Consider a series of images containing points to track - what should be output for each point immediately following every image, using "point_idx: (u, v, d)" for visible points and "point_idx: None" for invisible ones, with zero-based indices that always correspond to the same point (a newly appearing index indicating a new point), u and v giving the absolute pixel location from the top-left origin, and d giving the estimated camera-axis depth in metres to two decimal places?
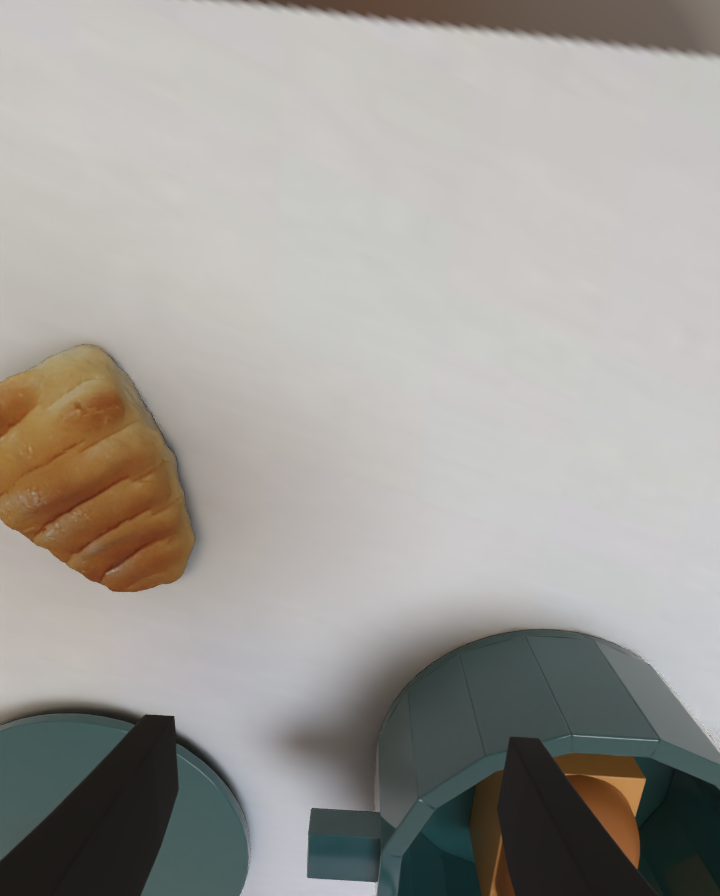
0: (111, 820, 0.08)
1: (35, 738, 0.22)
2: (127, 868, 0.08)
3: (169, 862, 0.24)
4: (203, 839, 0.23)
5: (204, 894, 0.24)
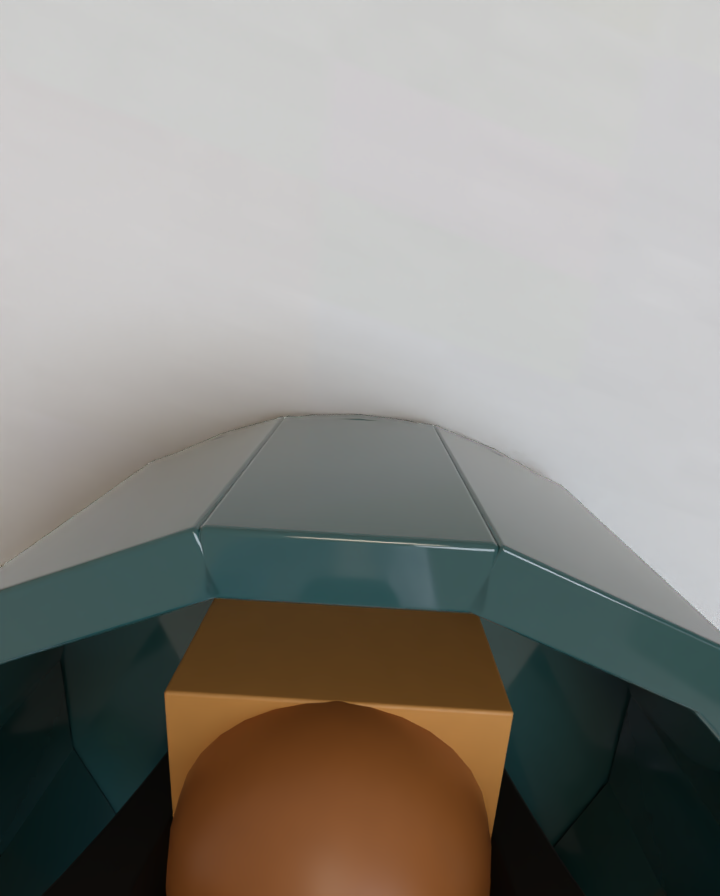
0: None
1: None
2: None
3: None
4: None
5: None
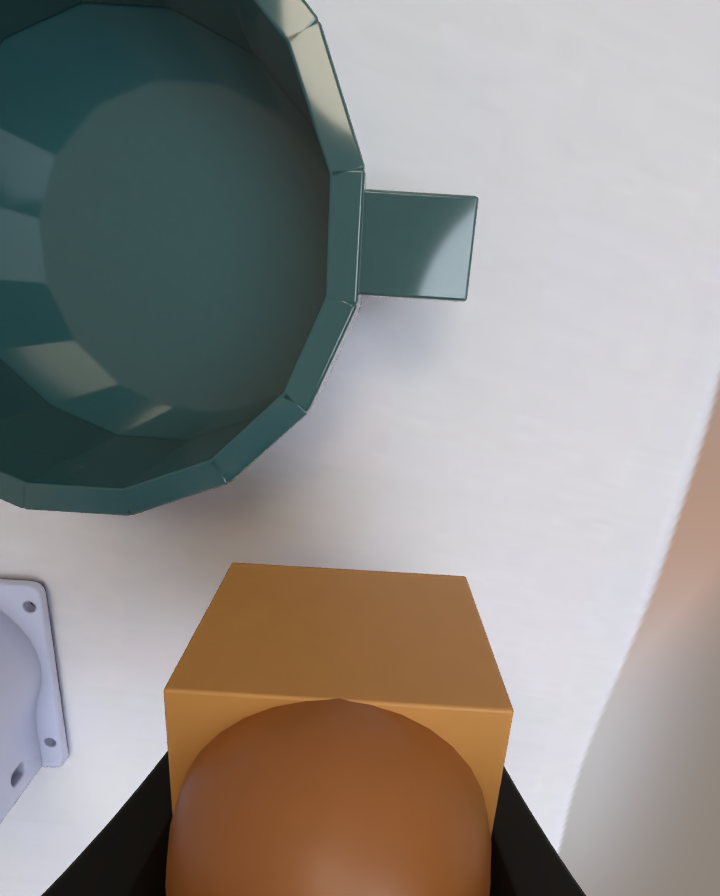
0: None
1: None
2: None
3: None
4: None
5: None
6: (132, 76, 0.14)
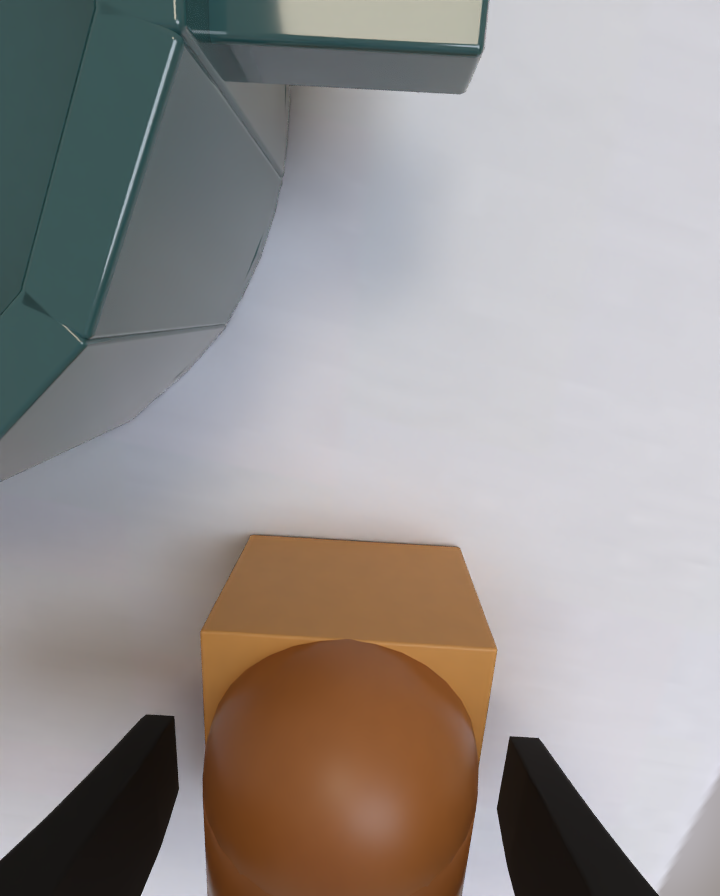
0: (111, 820, 0.08)
1: None
2: (127, 868, 0.08)
3: None
4: None
5: None
6: None
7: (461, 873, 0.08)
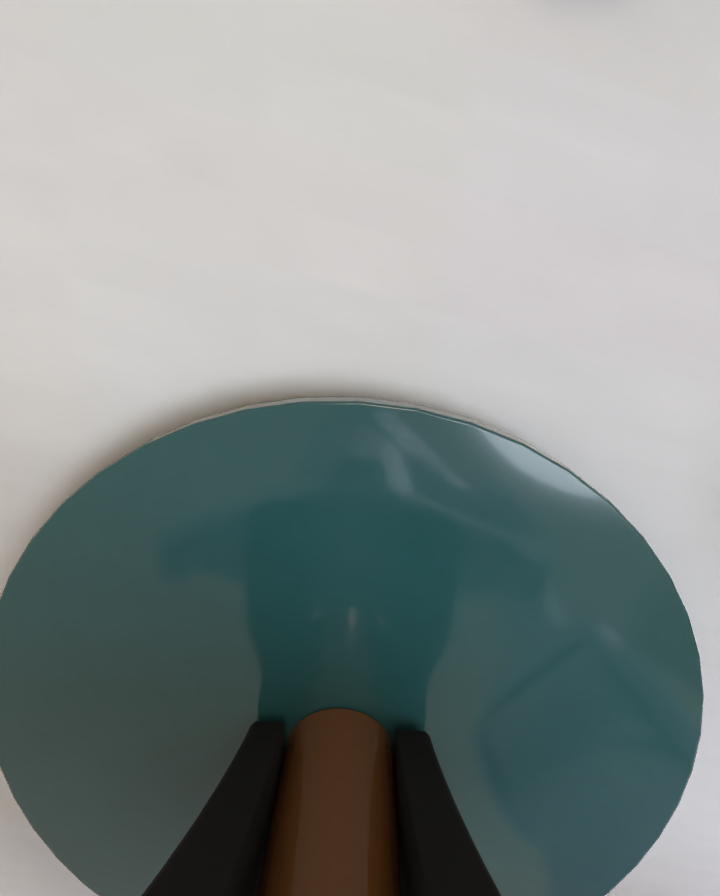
0: (253, 829, 0.08)
1: (255, 453, 0.09)
2: (258, 876, 0.08)
3: (511, 782, 0.11)
4: (603, 726, 0.10)
5: (567, 855, 0.11)
6: None
7: None
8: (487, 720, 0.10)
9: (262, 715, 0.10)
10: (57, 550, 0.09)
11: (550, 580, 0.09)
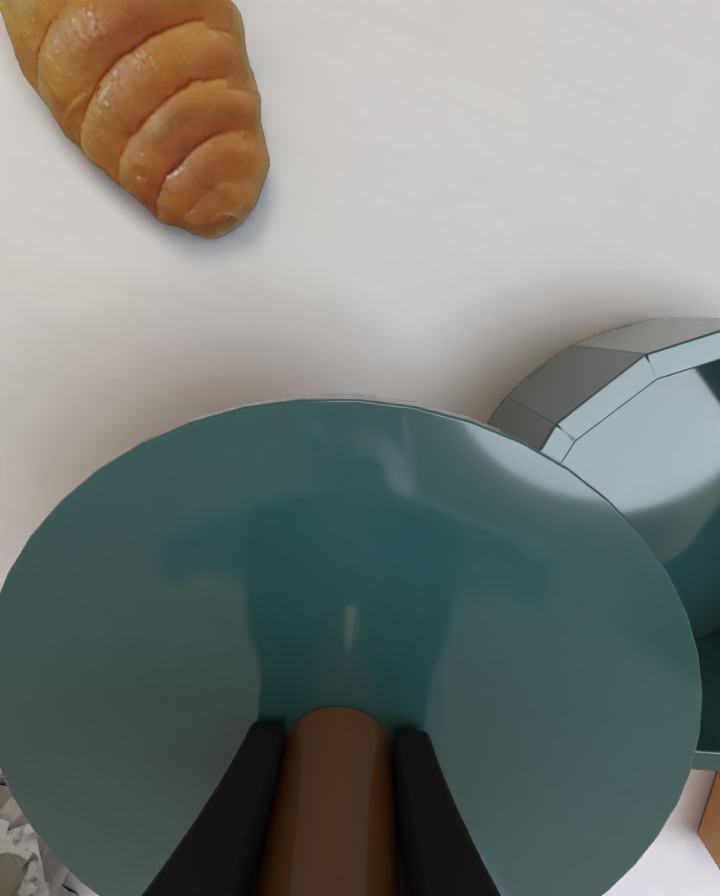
0: (253, 829, 0.08)
1: (253, 451, 0.09)
2: None
3: (509, 780, 0.11)
4: (602, 724, 0.10)
5: (566, 853, 0.11)
6: (675, 392, 0.18)
7: None
8: (486, 719, 0.10)
9: (260, 714, 0.10)
10: (56, 548, 0.09)
11: (549, 578, 0.09)
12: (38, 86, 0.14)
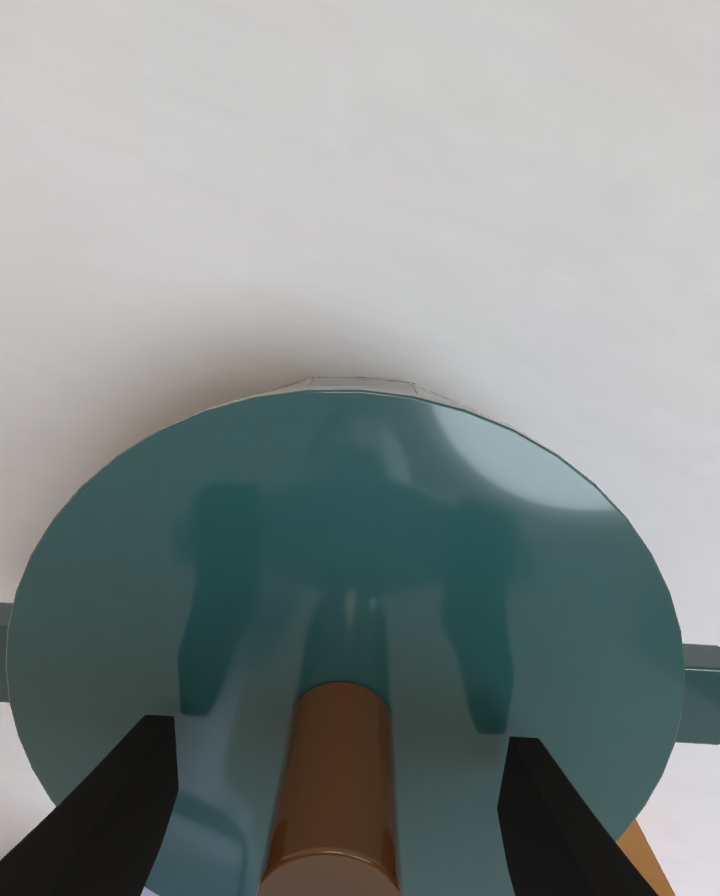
0: (111, 820, 0.08)
1: (263, 438, 0.09)
2: (127, 868, 0.08)
3: (503, 752, 0.11)
4: (591, 698, 0.11)
5: None
6: None
7: None
8: (481, 693, 0.11)
9: (268, 688, 0.11)
10: (76, 530, 0.10)
11: (540, 559, 0.10)
12: None
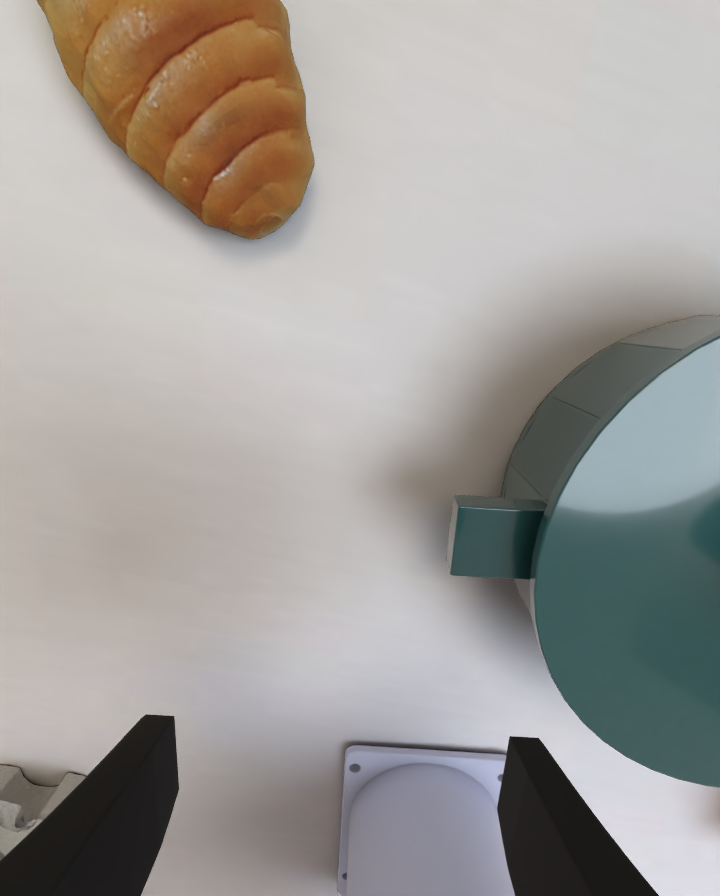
0: (111, 820, 0.08)
1: None
2: (127, 868, 0.08)
3: None
4: None
5: None
6: None
7: None
8: None
9: None
10: (643, 410, 0.13)
11: None
12: (83, 88, 0.14)
